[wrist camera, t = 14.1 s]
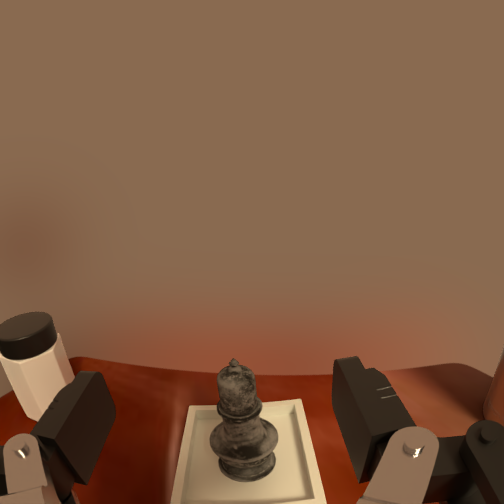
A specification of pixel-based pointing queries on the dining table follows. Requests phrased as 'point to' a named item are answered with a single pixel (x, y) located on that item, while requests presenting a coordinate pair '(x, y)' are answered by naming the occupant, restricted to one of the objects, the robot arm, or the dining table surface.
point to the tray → (257, 492)
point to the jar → (34, 361)
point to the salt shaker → (242, 427)
